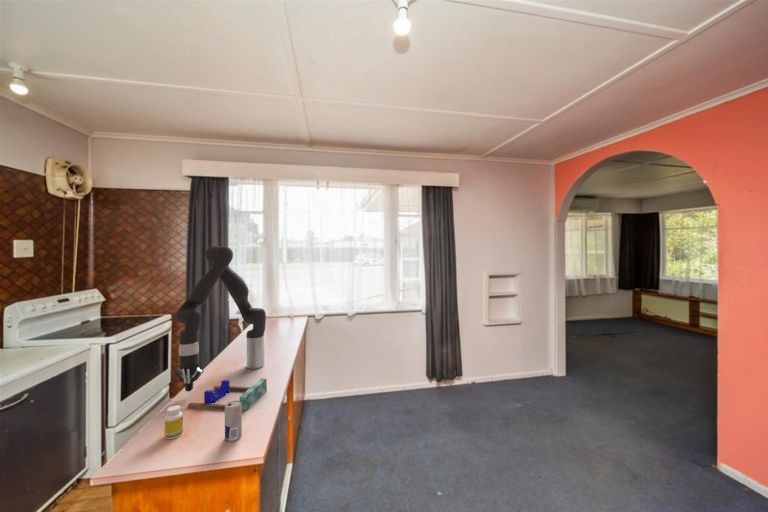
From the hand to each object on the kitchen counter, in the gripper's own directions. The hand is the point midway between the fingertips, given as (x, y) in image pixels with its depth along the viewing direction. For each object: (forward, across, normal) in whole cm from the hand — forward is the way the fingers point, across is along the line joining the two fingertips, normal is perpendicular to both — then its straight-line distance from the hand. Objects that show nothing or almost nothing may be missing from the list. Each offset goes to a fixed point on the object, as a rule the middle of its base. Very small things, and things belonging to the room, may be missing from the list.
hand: (189, 390), depth 138 cm
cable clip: (+3, -13, 0) cm, 13 cm away
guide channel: (+3, -18, 0) cm, 19 cm away
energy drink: (+3, -38, +26) cm, 46 cm away
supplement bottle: (+3, -16, +27) cm, 31 cm away
